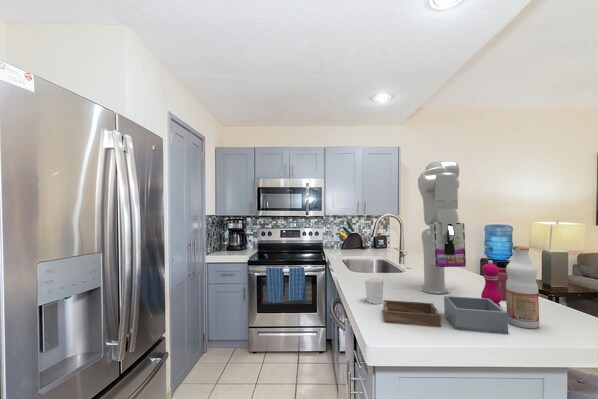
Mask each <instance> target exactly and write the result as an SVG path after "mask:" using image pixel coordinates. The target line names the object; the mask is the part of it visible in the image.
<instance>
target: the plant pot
mask: <svg viewBox="0 0 598 399" xmlns="http://www.w3.org/2000/svg"><path fill="white" fill-rule="evenodd" d="M498 268H499V274H498V275H497V276H498V280H497V288H498V290H499V292H500V294H501V298H502V300H501V301H506V281H507V279H508V276H507V273H506V267H498Z"/></svg>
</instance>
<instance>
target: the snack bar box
mask: <svg viewBox="0 0 598 399" xmlns="http://www.w3.org/2000/svg"><path fill="white" fill-rule="evenodd" d="M429 229H430V248H431V265H433V266H435V267H444V268H448V267H449V268H462V267H463V268H465V267H467V264H466V263H467V262H466V261H467V259H466V239H465V238H466V237H465V236H466V235H465V234H466V232H465V231H466V230H465V222H461V221H459V222H456V235H455V236H454V250H455V255H445V245H444V244H446V243H445V235H443V236H441V223H439V222H436V223H430V226H429ZM453 233H454V232H453ZM446 235H449V234H446Z"/></svg>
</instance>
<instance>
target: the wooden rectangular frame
mask: <svg viewBox="0 0 598 399" xmlns="http://www.w3.org/2000/svg"><path fill="white" fill-rule="evenodd" d="M382 303H383V304H382V305H383V307H382V308H383V309H384V310H383V316H384V317H385V318H384V322H385V323H386V322H387V324H388V323H390V324H398V323H399V324H400V325H412V326H423V327H424V326H425V327H433V328H434V327H437V328H441V327H442V317H441V313H440V312H439V311H438V309H437V307H435V305H434V303H432V302H418V301H416V302H415V301H403V300H402V301H401V300H388V299H387V300H385V299H382ZM399 324H398V325H399Z"/></svg>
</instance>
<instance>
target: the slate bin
mask: <svg viewBox="0 0 598 399" xmlns="http://www.w3.org/2000/svg"><path fill="white" fill-rule="evenodd" d="M443 304H444V305H443V306H444V307H443V308H444V311H443V312H444V313H443V314H444V315H445V316H446V318H447V319H448V321H449V322H450V324H451V325H452V326H453V328H454V329H455V330H456V329H457V330H458V331H469V332H478V333H479V332H481V333H491V334H492V333H494V334H505V335H509V322H508V313H507V310H505V309H503V307H501V306H500V307H499V306H498V305H497V304H495V303H494V302H493V301H491V300H490V299H487V298H481V297H469V296H468V297H467V296H466V297H465V296H451V295H450V296H449V295H443ZM457 330H456V331H457Z"/></svg>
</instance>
